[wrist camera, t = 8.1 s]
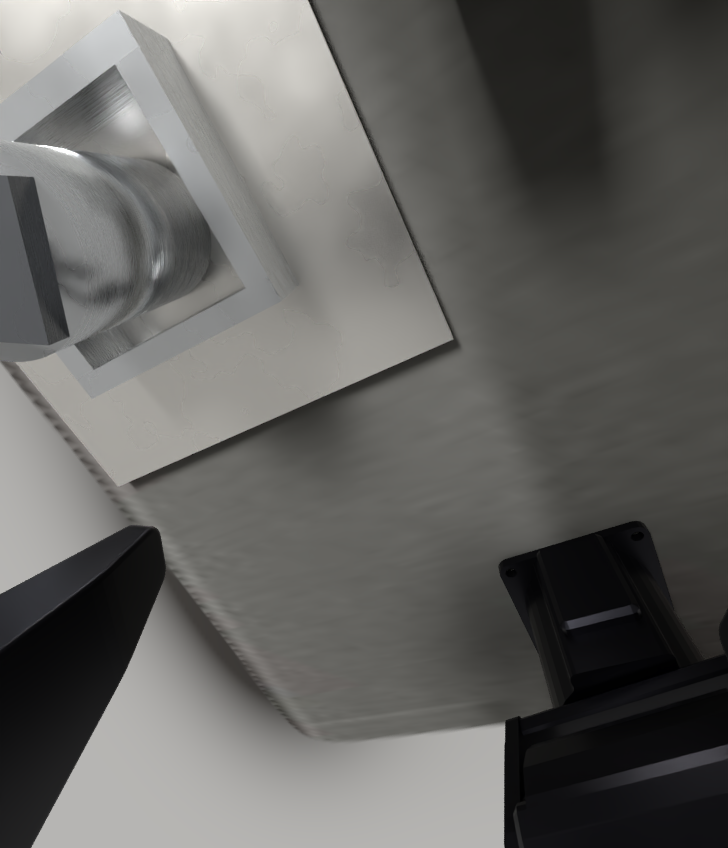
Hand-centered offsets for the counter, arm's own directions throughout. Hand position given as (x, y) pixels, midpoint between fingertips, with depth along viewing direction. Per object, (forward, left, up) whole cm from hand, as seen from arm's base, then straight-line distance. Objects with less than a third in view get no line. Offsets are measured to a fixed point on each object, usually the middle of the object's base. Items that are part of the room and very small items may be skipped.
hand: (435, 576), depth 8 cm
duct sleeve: (+8, +7, -11) cm, 15 cm away
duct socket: (+8, +7, -12) cm, 16 cm away
